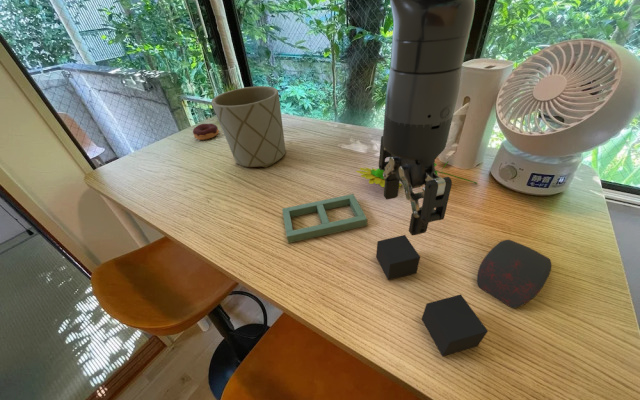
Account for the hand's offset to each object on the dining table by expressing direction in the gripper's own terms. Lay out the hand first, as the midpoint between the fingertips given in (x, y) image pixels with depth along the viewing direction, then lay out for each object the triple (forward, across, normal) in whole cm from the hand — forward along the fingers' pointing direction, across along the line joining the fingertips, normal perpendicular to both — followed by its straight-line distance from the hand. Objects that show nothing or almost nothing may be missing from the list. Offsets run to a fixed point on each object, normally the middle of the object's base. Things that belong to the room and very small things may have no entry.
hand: (402, 213), depth 39 cm
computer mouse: (+13, +7, +18) cm, 23 cm away
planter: (+13, -53, -23) cm, 59 cm away
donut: (+13, -80, -44) cm, 92 cm away
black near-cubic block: (+12, 0, 0) cm, 13 cm away
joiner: (+12, -16, -10) cm, 22 cm away
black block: (+12, +13, +2) cm, 18 cm away
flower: (+13, -23, +15) cm, 30 cm away
